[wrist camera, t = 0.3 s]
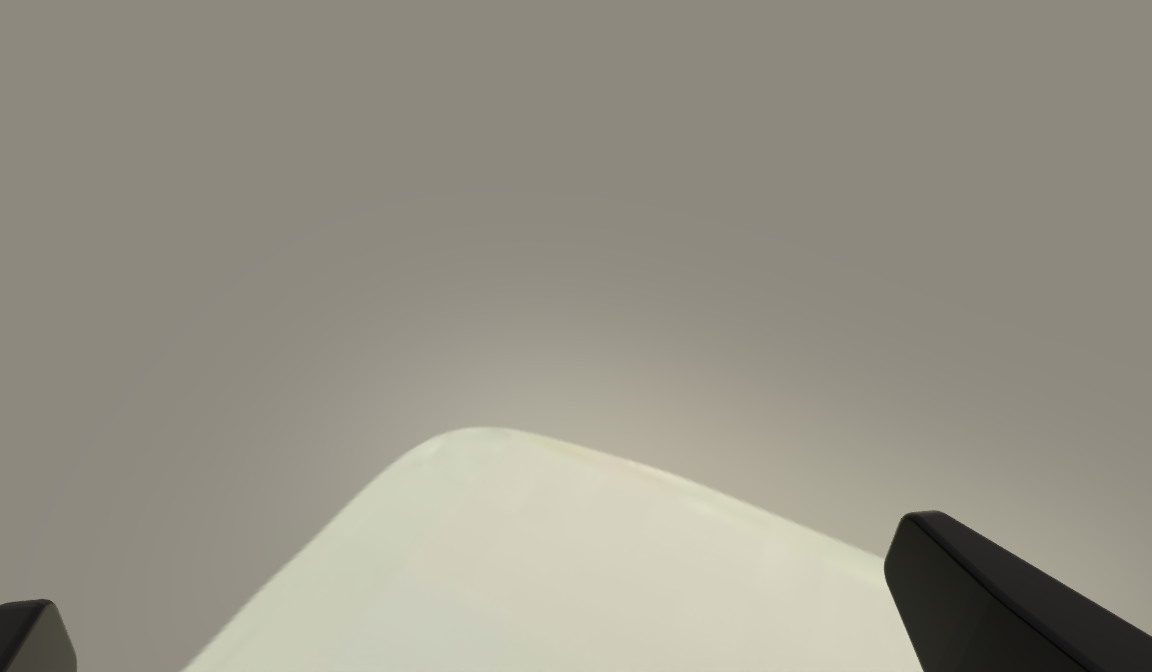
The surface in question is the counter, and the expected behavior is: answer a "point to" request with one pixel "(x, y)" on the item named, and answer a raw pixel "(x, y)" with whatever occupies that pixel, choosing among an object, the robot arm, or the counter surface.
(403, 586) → the counter surface
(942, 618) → the robot arm
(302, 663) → the counter surface
